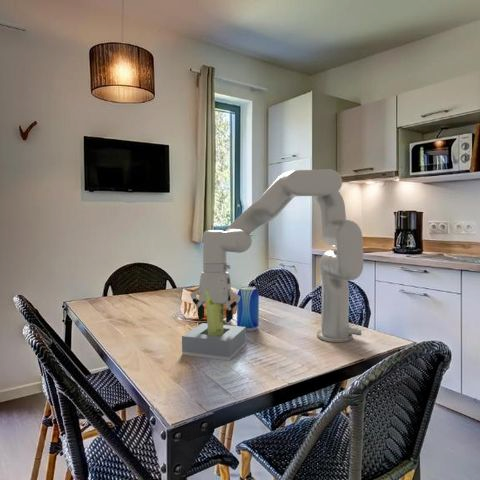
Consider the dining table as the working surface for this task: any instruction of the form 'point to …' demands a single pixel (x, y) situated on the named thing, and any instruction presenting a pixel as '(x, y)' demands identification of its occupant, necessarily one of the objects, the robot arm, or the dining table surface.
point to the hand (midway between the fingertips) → (214, 320)
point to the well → (214, 342)
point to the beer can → (248, 308)
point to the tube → (214, 316)
